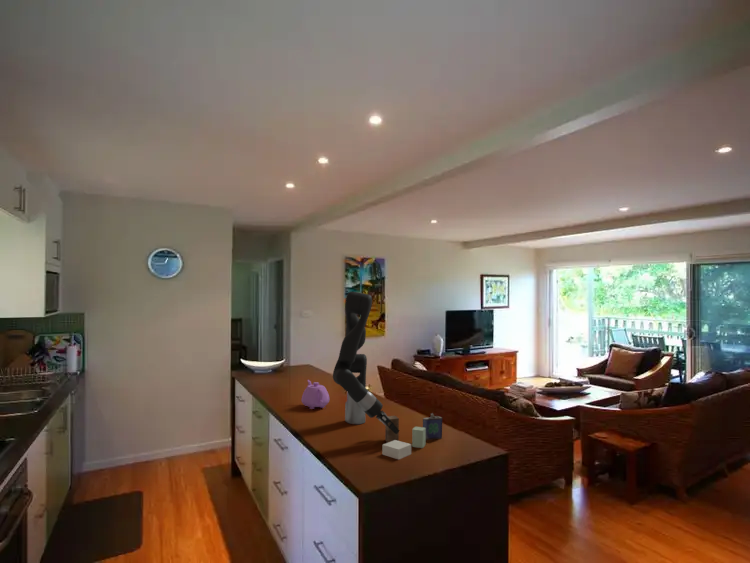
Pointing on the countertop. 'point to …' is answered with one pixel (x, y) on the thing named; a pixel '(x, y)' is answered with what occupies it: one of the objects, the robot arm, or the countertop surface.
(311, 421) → the countertop surface
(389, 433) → the walnut pillar
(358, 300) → the robot arm
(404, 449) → the base block
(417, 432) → the sage block
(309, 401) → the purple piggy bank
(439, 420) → the flask
